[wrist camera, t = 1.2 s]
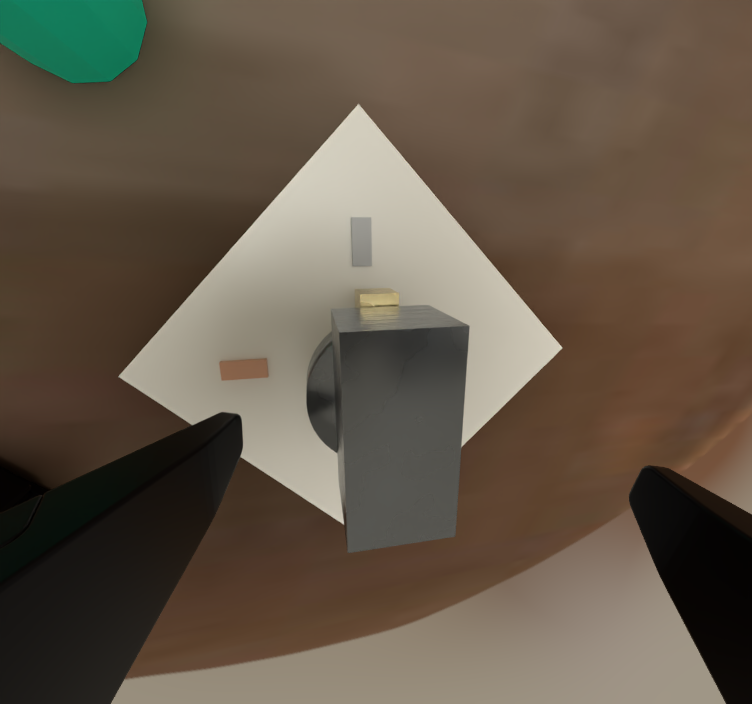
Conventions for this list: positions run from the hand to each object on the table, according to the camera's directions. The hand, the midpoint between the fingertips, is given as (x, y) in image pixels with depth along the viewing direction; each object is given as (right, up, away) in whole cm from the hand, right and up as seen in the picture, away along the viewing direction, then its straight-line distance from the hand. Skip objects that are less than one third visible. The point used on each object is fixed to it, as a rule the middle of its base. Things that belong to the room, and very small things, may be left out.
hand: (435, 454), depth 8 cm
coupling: (-1, +1, +10) cm, 10 cm away
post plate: (-2, +2, +14) cm, 14 cm away
